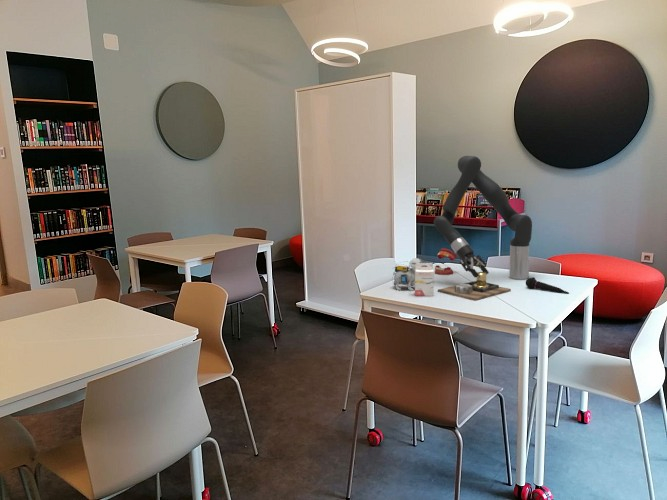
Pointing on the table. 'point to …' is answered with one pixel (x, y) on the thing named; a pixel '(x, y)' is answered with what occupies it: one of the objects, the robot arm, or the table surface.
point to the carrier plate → (473, 291)
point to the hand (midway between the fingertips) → (482, 275)
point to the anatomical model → (443, 254)
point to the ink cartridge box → (424, 279)
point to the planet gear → (481, 281)
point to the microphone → (543, 286)
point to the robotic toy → (406, 274)
